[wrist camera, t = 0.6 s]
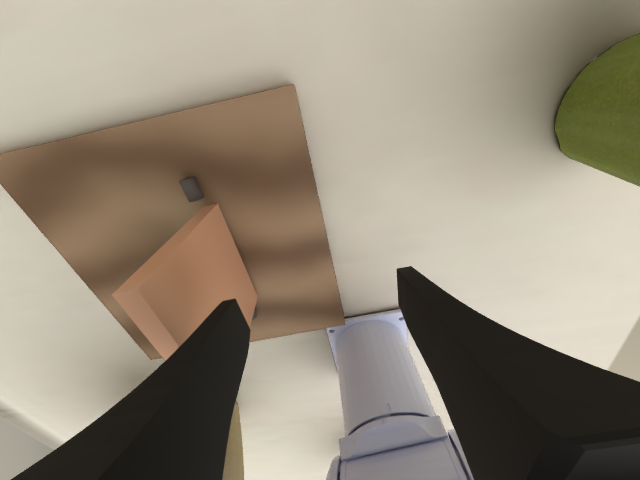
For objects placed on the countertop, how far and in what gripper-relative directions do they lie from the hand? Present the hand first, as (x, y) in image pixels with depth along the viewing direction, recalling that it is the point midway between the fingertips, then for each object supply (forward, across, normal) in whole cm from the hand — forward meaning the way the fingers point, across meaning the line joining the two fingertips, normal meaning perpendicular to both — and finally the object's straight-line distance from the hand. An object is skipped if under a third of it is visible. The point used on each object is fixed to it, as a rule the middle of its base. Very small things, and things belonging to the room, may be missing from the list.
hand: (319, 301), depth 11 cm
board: (+9, +9, +1) cm, 13 cm away
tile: (+8, +7, +1) cm, 11 cm away
